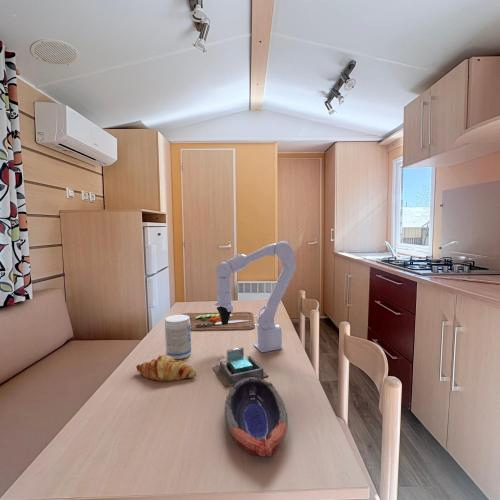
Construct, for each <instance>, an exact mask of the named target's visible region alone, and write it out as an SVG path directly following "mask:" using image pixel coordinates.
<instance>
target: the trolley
mask: <svg viewBox="0 0 500 500" xmlns="http://www.w3.org/2000/svg"><path fill="white" fill-rule="evenodd" d="M244 354H245V353H244V347H243V346H242V347H237V348H231V349H226V363H225V364H226V367H227V369H229V370H233V371H232V374H237V373H241V372H246V371H250V370H254V369H253V367H252V364H251V363H250V362H249V361H248V358H246V357H245V355H244Z"/></svg>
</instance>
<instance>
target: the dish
mask: <svg viewBox="0 0 500 500" xmlns="http://www.w3.org/2000/svg"><path fill="white" fill-rule="evenodd" d="M224 404H225V405H224V414H225V415H224V416H225V423H226V425H227V428H228V431H229V432H230V435H231V437H232V438H233V440H234V441H235V442H236V444H238V446H240V447H241V448H243V449H244V450H245V451H247V452H248V453H249V454H252V455H255V456H259V457H271V456H273V455H274V454H275V453H276V452H277V450H278V448H279V446H280V445H281V444H282V442H283V440H284V438H285V436H286V434H287V432H288V431H287V430H288V425H289V423H288V421H289V419H288V413H287V409H286V405H285V403H284V399H282V397H281V395H280V394H279V392H278V390H277V389H276V388H275V386H274V385H273V383H272V381H271V382H269V381H267V380H265V379H264V378H261V379H260V378H255V377H250V378H245V379H242V380H240V381H239V382H237V383H236V384H235V385H232V387H231V389H230V390H229V392H228V394H227V395H226V400H225V403H224Z"/></svg>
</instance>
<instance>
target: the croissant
mask: <svg viewBox="0 0 500 500" xmlns="http://www.w3.org/2000/svg"><path fill="white" fill-rule="evenodd" d="M135 368H136V370H137V371H138V372H139V373H141V374H142V376H144V378H147V379H150V380H153V381H160V382H171V381H175V380H176V381H177V380H178V381H180V380H182V379H191V378H194V377H195V376H196V375H197V371H196V370H195V369H194V367H192V366H191V365H188V364H187V363H185V361H183V360H182V359H174V358H173V357H171V356H167V355H159V356H158V357H157V358H156V359H155V358H154V359H151V360H150V361H149V362H148V361H147V362H143V363H140V364H137V365H136V367H135Z"/></svg>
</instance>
